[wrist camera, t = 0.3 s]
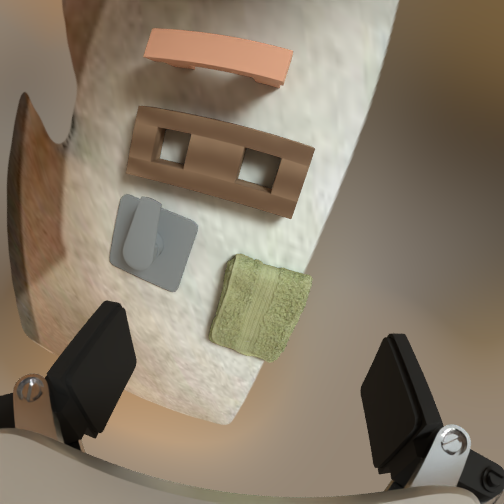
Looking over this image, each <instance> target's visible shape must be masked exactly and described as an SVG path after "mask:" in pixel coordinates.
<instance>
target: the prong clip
mask: <svg viewBox="0 0 504 504" xmlns="http://www.w3.org/2000/svg"><path fill="white" fill-rule="evenodd" d="M292 55H293V51H292V50H288V49H284V48H281V47H277V46H273V45H269V44H264V43H260V42H256V41H251V40H246V39H241V38H236V37H230V36H224V35H218V34H211V33H203V32H195V31H185V30H174V29H157V28H152V31H151V34H150V37H149V40H148V43H147V46H146V50H145V53H144V56H143V57H145V58H148V59H150V60H153V61H157V62H165V63H167V64H169V65H171V66H174V67H181V68H188V69H195V67H203V68H208V69H214V70H219V71H225V72H229V73H234V74H239V75H243V76H248V77H252V78H254V80H255V82H258V83H262V84H266V85H270V86H273V87H277V88H280V85H282V86H283V85H284V81H285V78H286V75H287V72H288V69H289V66H290V62H291V59H292Z"/></svg>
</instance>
